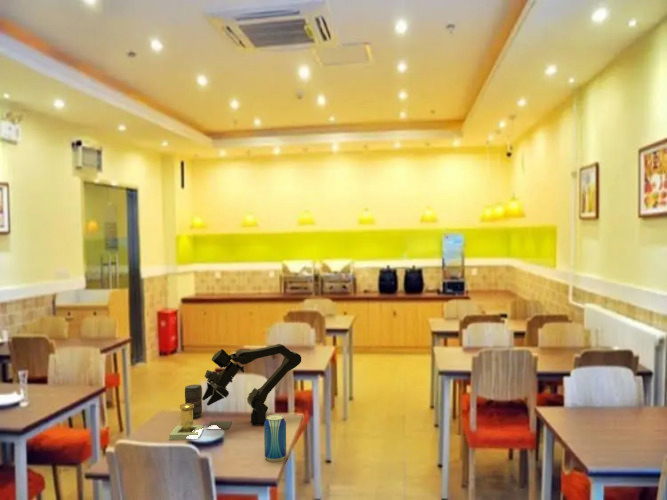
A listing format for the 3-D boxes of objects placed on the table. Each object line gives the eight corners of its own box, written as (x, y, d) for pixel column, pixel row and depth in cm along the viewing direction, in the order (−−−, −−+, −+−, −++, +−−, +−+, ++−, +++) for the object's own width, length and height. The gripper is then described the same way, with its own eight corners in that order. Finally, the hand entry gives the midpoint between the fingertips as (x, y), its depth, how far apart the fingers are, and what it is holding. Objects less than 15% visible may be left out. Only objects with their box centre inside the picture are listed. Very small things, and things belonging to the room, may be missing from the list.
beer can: (265, 454, 216) (264, 414, 215) (286, 453, 216) (285, 413, 216) (264, 462, 207) (263, 420, 207) (286, 461, 208) (285, 420, 208)
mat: (232, 422, 255) (232, 421, 255) (228, 429, 245) (228, 428, 245) (210, 422, 255) (210, 421, 255) (206, 429, 245) (206, 428, 245)
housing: (203, 430, 245) (203, 425, 245) (197, 439, 233) (197, 434, 233) (177, 430, 245) (176, 425, 245) (169, 439, 233) (169, 434, 233)
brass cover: (195, 432, 242) (195, 403, 242) (192, 437, 236) (192, 407, 236) (182, 432, 242) (181, 403, 242) (178, 437, 236) (178, 407, 236)
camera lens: (204, 414, 267) (204, 384, 267) (198, 419, 259) (198, 388, 259) (188, 414, 268) (188, 383, 268) (182, 419, 260) (182, 388, 260)
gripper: (210, 359, 253) (187, 386, 248) (220, 367, 236) (195, 397, 232) (228, 373, 256) (205, 401, 252) (238, 382, 240) (214, 412, 235)
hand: (205, 402), depth 243 cm, fingers open, 9 cm apart
